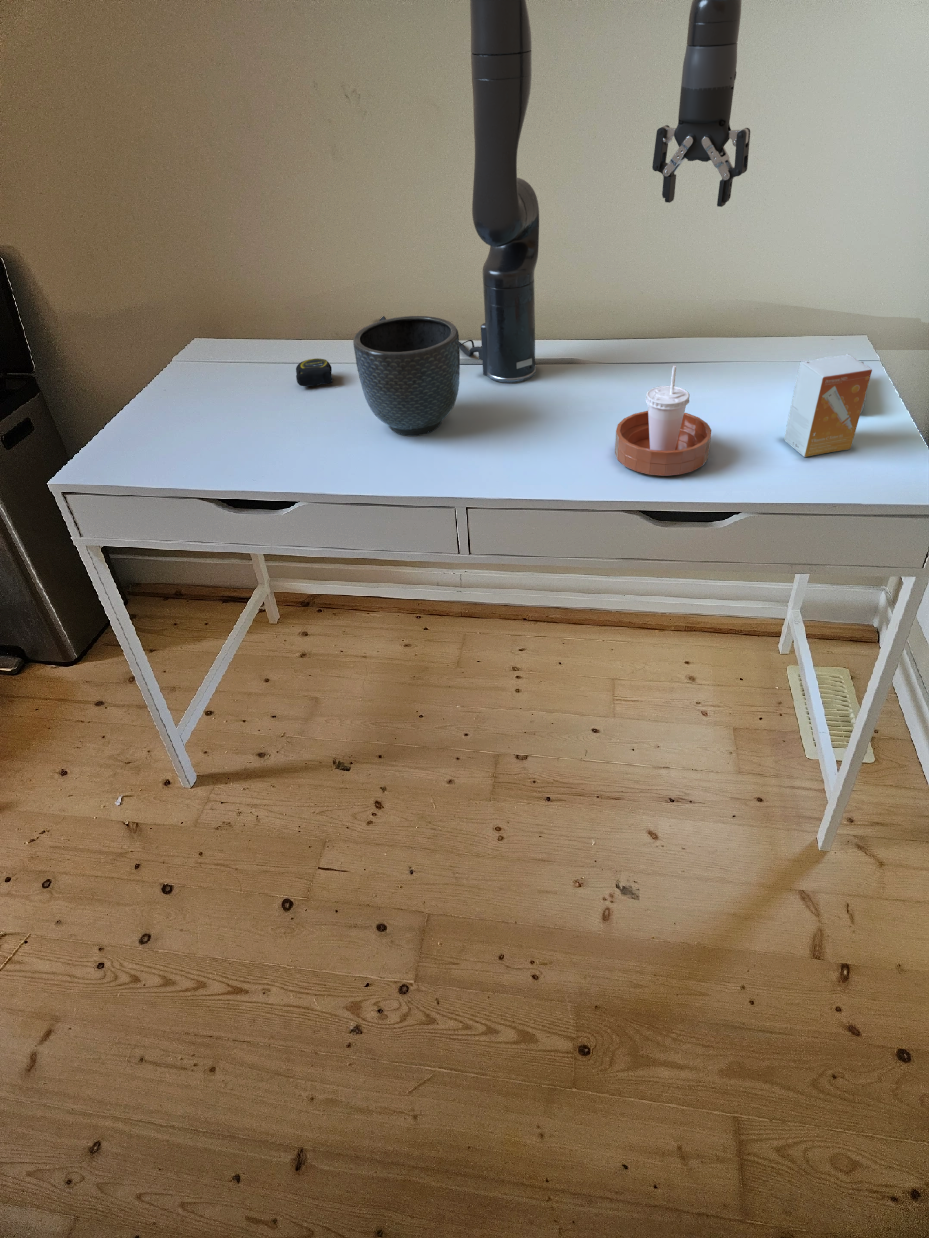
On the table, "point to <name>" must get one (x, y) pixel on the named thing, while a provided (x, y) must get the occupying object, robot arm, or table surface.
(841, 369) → the small box
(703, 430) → the bowl
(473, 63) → the robot arm
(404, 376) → the planter
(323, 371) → the tape measure
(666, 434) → the smoothie
